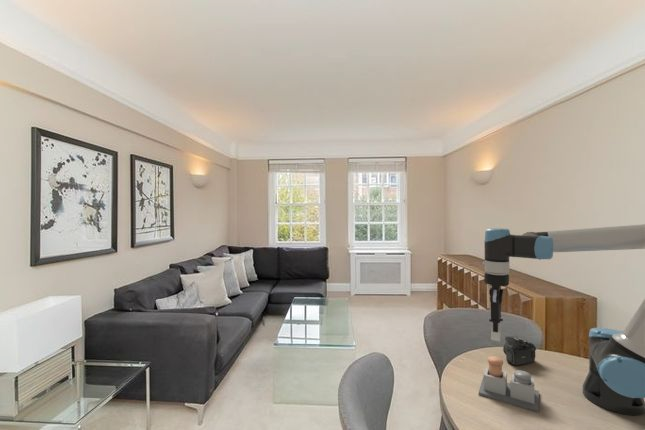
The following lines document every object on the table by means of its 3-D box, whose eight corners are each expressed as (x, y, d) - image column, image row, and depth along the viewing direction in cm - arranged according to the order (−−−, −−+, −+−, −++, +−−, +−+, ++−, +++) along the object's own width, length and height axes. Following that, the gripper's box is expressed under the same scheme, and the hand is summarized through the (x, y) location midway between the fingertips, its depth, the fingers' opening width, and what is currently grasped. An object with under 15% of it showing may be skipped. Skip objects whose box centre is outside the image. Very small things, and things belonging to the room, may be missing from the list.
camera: (511, 352, 138) (511, 329, 138) (537, 360, 130) (537, 336, 130) (498, 361, 130) (498, 337, 129) (525, 371, 122) (525, 345, 122)
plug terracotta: (503, 376, 110) (503, 358, 110) (502, 382, 106) (502, 364, 106) (488, 372, 113) (488, 355, 113) (486, 378, 109) (486, 360, 109)
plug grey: (531, 391, 105) (531, 372, 105) (531, 398, 101) (530, 379, 101) (514, 386, 108) (514, 368, 108) (513, 393, 104) (513, 375, 104)
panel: (538, 393, 107) (538, 375, 107) (538, 412, 97) (538, 393, 97) (483, 378, 117) (483, 362, 117) (478, 394, 107) (478, 377, 107)
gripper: (486, 268, 116) (486, 331, 116) (481, 274, 105) (481, 344, 106) (510, 270, 112) (509, 336, 112) (507, 277, 101) (506, 349, 101)
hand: (495, 339), depth 109 cm, fingers closed
